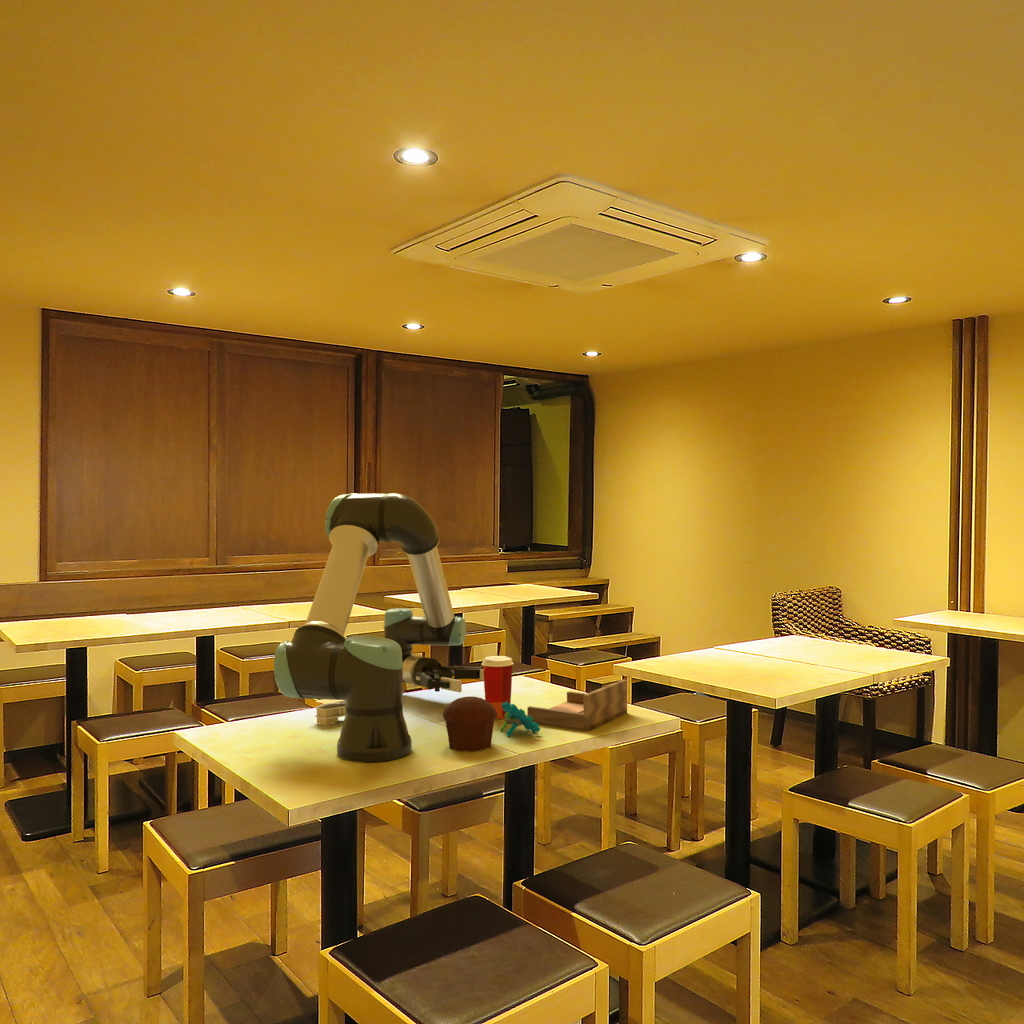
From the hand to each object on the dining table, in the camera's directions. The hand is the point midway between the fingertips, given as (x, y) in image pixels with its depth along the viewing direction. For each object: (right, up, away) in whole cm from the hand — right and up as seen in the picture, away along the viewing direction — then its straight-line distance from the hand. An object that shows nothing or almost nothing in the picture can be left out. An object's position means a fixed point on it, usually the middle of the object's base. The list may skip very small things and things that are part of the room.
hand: (480, 682), depth 210 cm
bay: (+23, -7, -6) cm, 25 cm away
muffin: (-1, -8, -30) cm, 31 cm away
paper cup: (+4, -8, -5) cm, 10 cm away
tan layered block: (-34, -8, -8) cm, 36 cm away
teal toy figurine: (+9, -8, -20) cm, 24 cm away
